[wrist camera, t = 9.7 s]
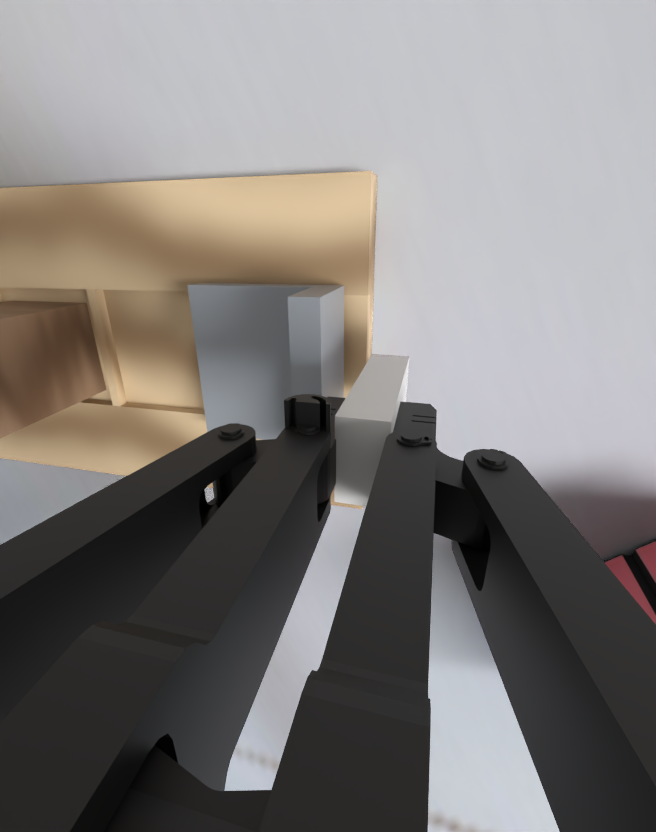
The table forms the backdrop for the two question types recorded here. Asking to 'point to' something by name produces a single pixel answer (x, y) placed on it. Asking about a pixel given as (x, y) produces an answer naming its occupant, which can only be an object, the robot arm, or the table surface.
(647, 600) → the puzzle cube
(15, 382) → the walnut block
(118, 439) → the puzzle board
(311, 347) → the slide cover
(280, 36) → the table surface
